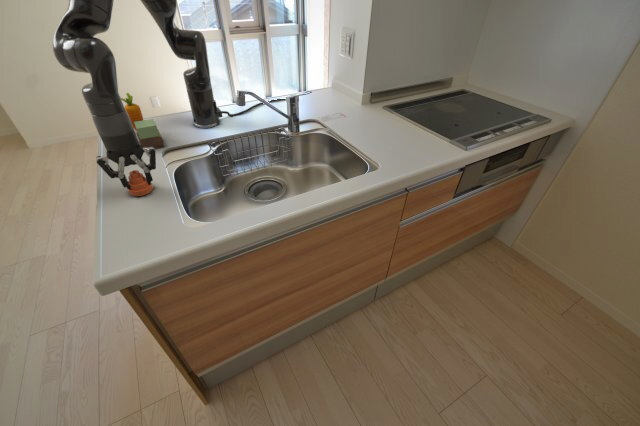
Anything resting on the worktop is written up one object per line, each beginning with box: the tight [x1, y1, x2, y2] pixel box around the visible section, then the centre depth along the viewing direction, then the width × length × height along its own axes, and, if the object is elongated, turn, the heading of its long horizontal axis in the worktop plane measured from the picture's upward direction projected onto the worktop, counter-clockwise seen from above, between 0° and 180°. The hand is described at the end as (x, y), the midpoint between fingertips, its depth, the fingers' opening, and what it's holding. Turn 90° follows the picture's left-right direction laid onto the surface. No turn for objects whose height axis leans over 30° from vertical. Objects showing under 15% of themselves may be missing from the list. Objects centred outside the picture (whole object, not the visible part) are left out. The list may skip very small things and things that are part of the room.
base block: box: [135, 128, 165, 150], centre depth 104 cm, size 7×7×4 cm
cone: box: [127, 169, 154, 197], centre depth 82 cm, size 6×6×6 cm
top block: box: [134, 118, 160, 140], centre depth 101 cm, size 6×6×4 cm
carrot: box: [121, 92, 144, 132], centre depth 106 cm, size 5×5×15 cm
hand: (139, 184), depth 83 cm, fingers closed on cone, 4 cm apart
